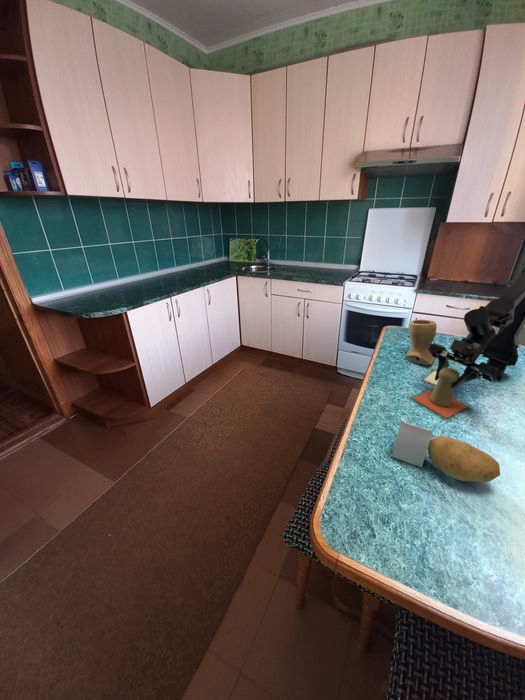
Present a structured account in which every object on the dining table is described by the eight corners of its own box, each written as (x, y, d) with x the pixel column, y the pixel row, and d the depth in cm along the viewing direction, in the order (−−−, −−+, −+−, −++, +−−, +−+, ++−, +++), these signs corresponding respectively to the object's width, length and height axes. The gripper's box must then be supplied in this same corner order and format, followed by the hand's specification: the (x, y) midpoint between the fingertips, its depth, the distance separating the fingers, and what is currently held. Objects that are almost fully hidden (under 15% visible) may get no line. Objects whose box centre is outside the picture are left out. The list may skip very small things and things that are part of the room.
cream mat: (433, 371, 108) (434, 370, 107) (461, 381, 101) (461, 380, 101) (423, 380, 102) (423, 379, 102) (451, 391, 96) (451, 390, 96)
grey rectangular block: (421, 467, 69) (432, 436, 65) (391, 456, 73) (399, 426, 68) (423, 457, 72) (433, 426, 68) (394, 447, 75) (401, 417, 71)
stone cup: (407, 346, 126) (415, 313, 120) (438, 353, 120) (448, 319, 113) (397, 359, 116) (404, 325, 109) (429, 368, 109) (440, 332, 102)
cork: (456, 404, 89) (467, 374, 84) (439, 407, 88) (449, 377, 83) (442, 393, 94) (451, 363, 89) (425, 395, 93) (434, 366, 88)
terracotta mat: (433, 389, 98) (433, 388, 98) (467, 406, 89) (467, 405, 89) (412, 399, 93) (412, 398, 93) (446, 419, 85) (446, 418, 84)
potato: (490, 504, 61) (504, 478, 57) (418, 471, 69) (426, 446, 65) (493, 473, 68) (506, 448, 64) (427, 446, 75) (435, 422, 72)
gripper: (438, 319, 89) (407, 359, 89) (508, 341, 74) (471, 389, 75) (447, 336, 96) (418, 373, 96) (512, 359, 81) (478, 404, 82)
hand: (443, 384), depth 87 cm, fingers closed on cork, 5 cm apart
